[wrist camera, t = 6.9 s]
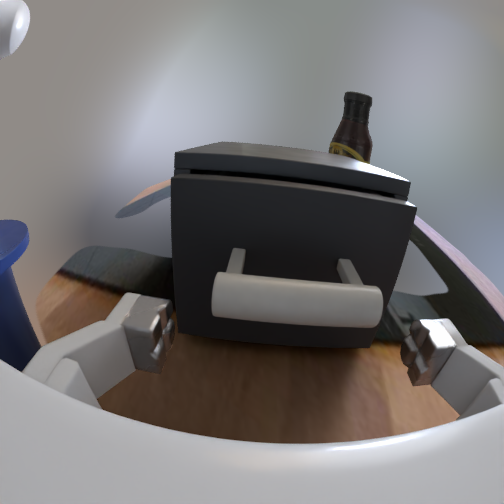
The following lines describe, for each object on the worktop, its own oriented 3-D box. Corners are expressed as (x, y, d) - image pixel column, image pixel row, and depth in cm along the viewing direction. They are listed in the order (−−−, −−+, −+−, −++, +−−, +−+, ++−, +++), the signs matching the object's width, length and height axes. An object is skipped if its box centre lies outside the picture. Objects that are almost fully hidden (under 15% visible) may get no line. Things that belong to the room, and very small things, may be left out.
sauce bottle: (308, 218, 41) (324, 88, 33) (335, 215, 44) (351, 98, 36) (339, 233, 36) (360, 88, 28) (365, 229, 39) (385, 100, 31)
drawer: (388, 403, 11) (469, 242, 7) (155, 389, 11) (124, 202, 8) (330, 254, 27) (346, 167, 24) (216, 242, 28) (221, 153, 24)
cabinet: (364, 336, 17) (411, 181, 13) (179, 321, 18) (174, 152, 13) (328, 249, 31) (344, 155, 26) (216, 238, 31) (221, 141, 27)
